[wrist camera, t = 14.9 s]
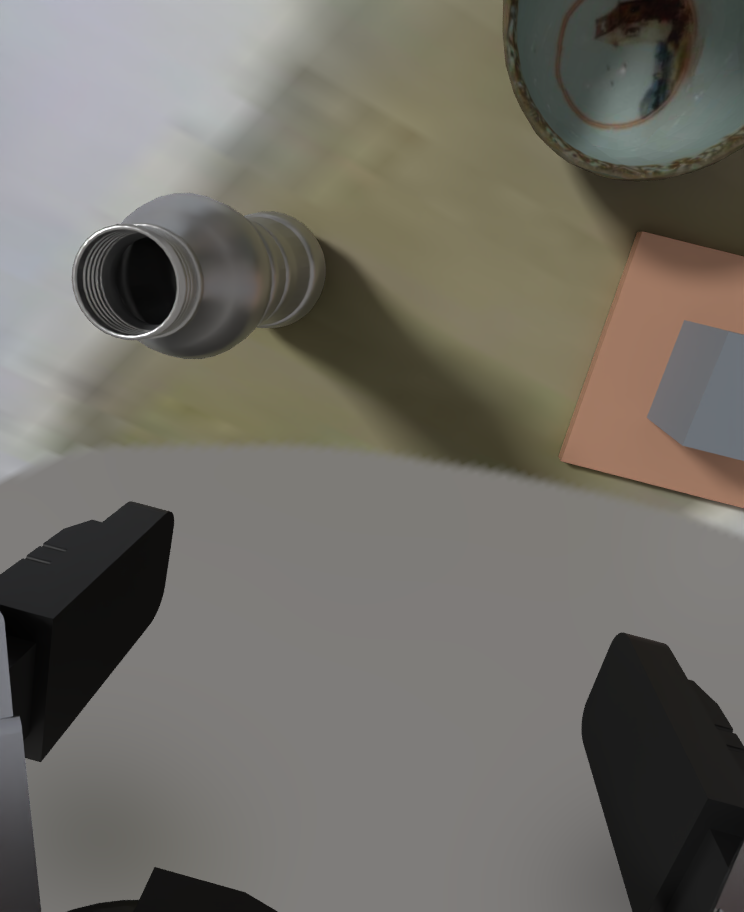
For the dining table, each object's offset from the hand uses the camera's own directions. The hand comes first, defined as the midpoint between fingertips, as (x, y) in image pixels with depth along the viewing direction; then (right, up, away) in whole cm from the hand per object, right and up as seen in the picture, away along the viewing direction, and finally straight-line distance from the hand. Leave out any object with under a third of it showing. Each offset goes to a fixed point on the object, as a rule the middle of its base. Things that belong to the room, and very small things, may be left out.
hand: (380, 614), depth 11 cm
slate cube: (+20, +7, +26) cm, 34 cm away
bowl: (+13, +24, +23) cm, 36 cm away
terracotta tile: (+20, +7, +27) cm, 35 cm away
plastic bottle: (-6, +14, +28) cm, 32 cm away
